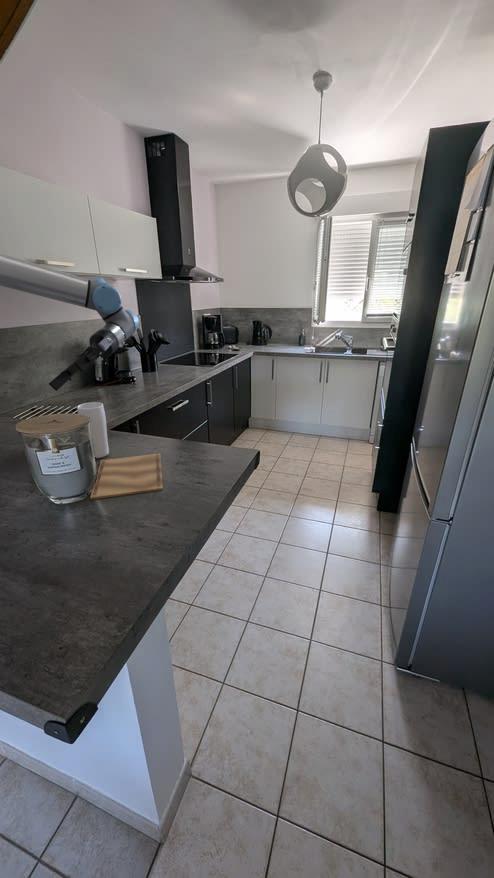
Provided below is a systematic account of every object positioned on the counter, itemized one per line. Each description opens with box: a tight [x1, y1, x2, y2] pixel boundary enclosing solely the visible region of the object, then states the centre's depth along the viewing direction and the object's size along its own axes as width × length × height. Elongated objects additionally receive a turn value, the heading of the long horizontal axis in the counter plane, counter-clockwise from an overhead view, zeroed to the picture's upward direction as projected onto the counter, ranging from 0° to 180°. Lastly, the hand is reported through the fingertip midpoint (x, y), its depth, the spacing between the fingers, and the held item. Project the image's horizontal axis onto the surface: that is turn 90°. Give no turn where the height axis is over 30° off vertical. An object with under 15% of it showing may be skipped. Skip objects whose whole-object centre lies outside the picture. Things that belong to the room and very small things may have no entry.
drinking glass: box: [76, 401, 110, 459], centre depth 100 cm, size 7×7×15 cm
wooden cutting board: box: [89, 453, 164, 501], centre depth 91 cm, size 20×16×1 cm
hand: (65, 377), depth 95 cm, fingers open, 13 cm apart
